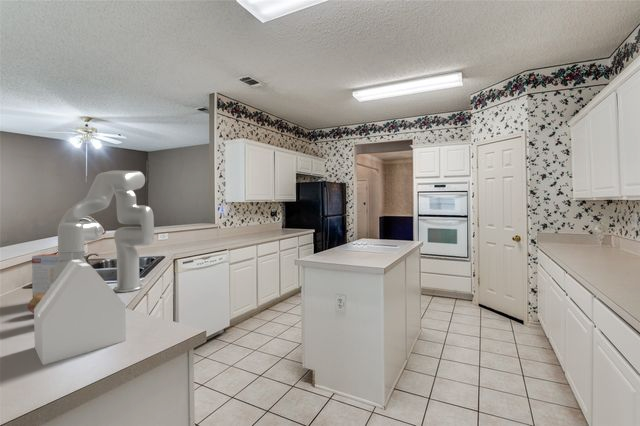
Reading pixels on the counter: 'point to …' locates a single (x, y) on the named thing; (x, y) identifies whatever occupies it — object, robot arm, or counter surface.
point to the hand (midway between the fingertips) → (72, 302)
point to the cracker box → (42, 272)
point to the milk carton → (77, 315)
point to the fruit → (35, 302)
